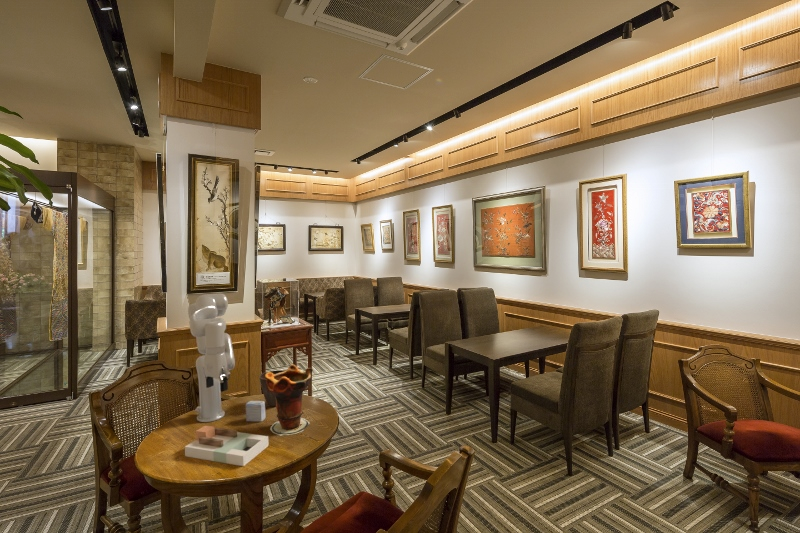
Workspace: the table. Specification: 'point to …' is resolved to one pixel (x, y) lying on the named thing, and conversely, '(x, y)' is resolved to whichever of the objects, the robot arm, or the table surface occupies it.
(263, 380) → the plant pot
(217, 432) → the channel walls
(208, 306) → the robot arm
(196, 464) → the table surface
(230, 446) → the deck
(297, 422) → the decorative vase
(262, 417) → the medicine box
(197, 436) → the block
